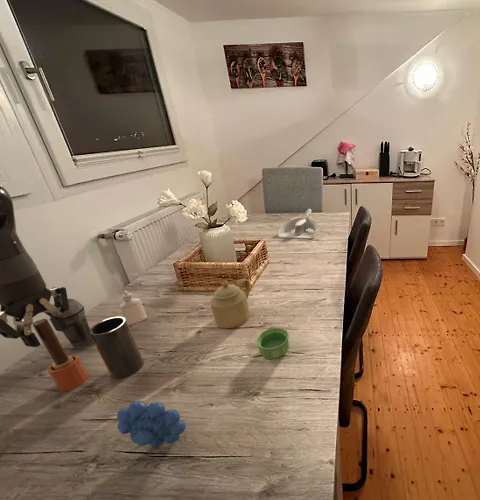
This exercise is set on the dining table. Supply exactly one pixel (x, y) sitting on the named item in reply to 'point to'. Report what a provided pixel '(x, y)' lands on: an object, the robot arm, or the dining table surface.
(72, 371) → the brush holder
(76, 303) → the beverage cup
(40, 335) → the brown wooden rod
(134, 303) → the eye dropper bottle
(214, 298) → the sugar bowl
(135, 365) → the dark grey tumbler
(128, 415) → the grapes
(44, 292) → the robot arm
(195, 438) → the dining table surface
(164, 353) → the dining table surface
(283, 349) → the ramekin
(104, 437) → the dining table surface
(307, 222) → the dustpan and brush
